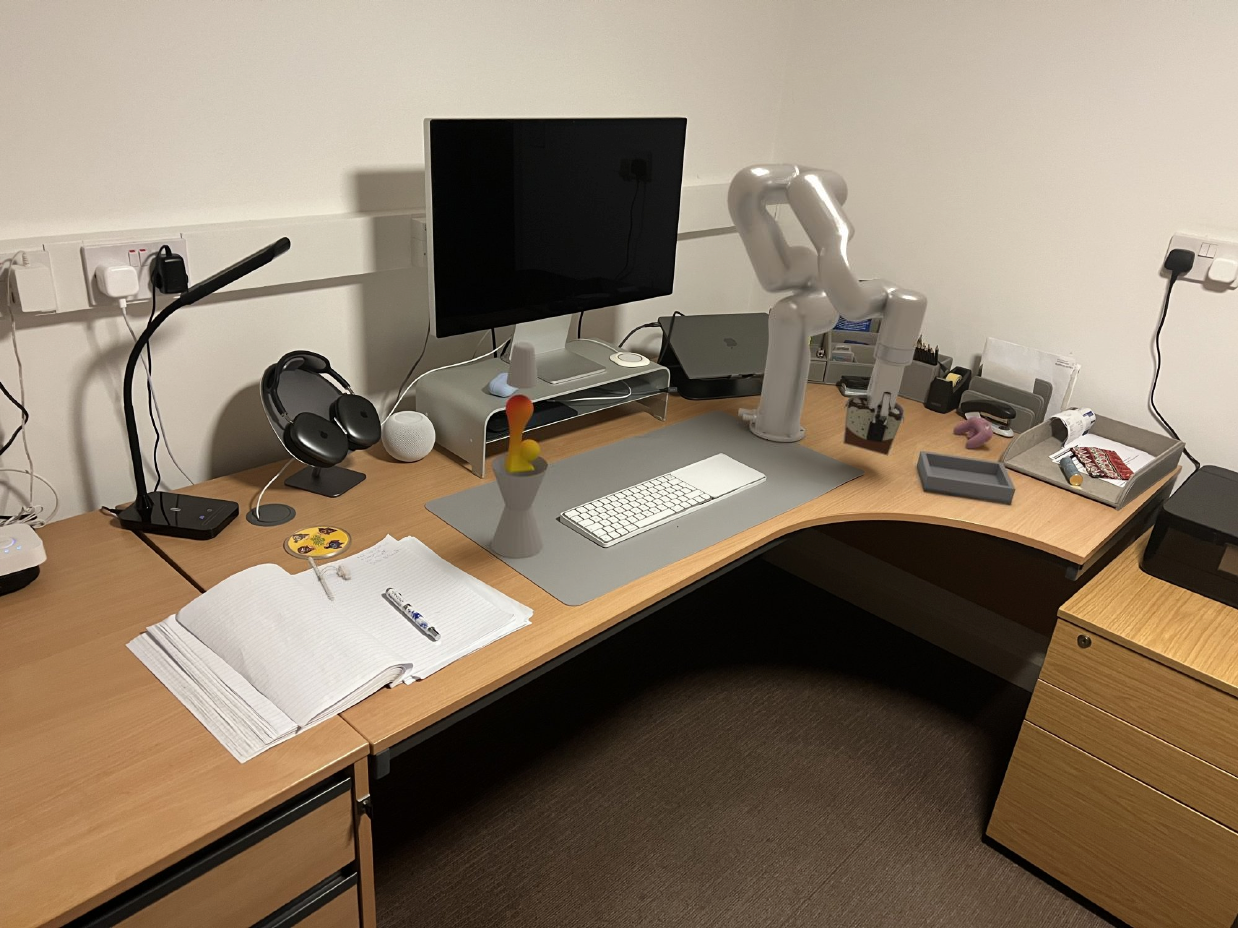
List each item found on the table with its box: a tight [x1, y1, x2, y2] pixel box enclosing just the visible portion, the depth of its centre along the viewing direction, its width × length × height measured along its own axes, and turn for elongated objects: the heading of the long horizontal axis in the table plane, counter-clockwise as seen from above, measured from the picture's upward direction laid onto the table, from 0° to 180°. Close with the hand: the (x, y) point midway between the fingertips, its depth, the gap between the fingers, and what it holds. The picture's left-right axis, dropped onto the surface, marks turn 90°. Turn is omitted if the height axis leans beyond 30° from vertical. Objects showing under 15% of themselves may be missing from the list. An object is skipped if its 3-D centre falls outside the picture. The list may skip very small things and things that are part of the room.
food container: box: [842, 393, 906, 457], centre depth 183 cm, size 12×6×10 cm, turn 64°
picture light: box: [308, 556, 352, 602], centre depth 135 cm, size 14×4×2 cm, turn 32°
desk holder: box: [916, 450, 1016, 505], centre depth 182 cm, size 17×13×4 cm
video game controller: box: [953, 415, 994, 450], centre depth 204 cm, size 10×5×7 cm, turn 179°
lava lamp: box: [490, 341, 549, 559], centre depth 140 cm, size 9×9×35 cm
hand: (873, 433), depth 183 cm, fingers closed on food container, 6 cm apart
